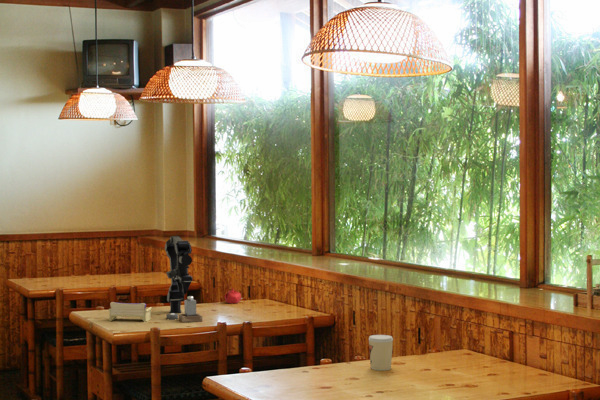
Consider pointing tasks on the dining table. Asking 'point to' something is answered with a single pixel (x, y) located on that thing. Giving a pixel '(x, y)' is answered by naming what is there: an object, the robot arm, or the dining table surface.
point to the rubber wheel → (171, 316)
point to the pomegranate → (232, 297)
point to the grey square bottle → (190, 306)
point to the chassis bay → (190, 318)
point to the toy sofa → (130, 310)
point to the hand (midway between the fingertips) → (182, 293)
